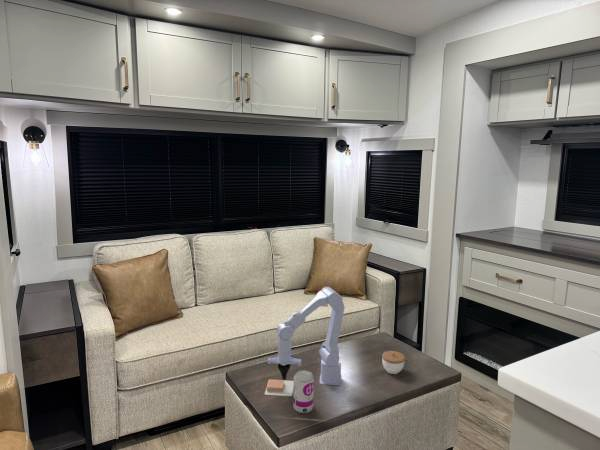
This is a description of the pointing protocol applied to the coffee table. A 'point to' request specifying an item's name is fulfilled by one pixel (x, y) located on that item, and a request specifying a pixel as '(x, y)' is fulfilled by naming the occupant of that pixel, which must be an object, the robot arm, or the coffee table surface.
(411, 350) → the coffee table surface
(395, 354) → the lidded jar
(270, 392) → the mat
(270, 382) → the tile
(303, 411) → the supplement can
